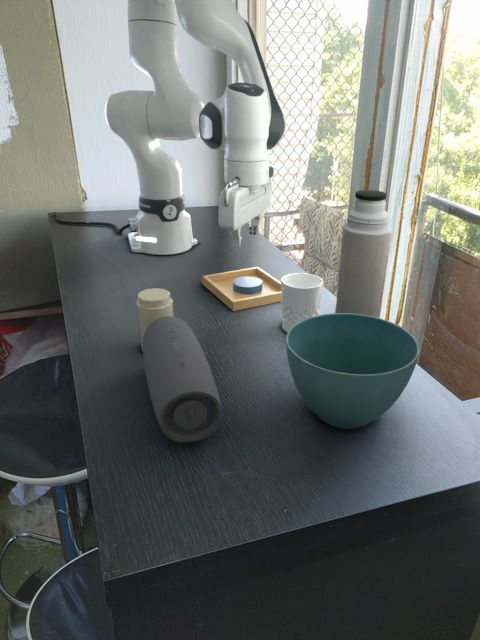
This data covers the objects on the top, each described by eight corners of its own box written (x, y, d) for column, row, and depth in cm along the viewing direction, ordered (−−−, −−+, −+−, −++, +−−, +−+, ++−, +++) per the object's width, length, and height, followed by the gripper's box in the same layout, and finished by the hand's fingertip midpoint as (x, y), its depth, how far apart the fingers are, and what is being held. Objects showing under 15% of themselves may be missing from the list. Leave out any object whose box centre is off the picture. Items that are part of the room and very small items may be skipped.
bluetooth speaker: (227, 444, 71) (226, 382, 66) (158, 456, 69) (152, 392, 64) (197, 362, 90) (195, 310, 85) (142, 369, 88) (137, 315, 83)
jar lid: (268, 287, 119) (268, 280, 118) (252, 296, 114) (252, 289, 114) (243, 281, 122) (243, 274, 122) (227, 290, 117) (227, 283, 117)
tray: (202, 284, 122) (202, 275, 121) (257, 274, 128) (258, 266, 127) (233, 311, 109) (233, 302, 108) (293, 299, 115) (293, 290, 114)
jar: (135, 344, 96) (130, 291, 91) (166, 336, 99) (162, 284, 94) (149, 358, 91) (144, 304, 86) (181, 349, 94) (178, 296, 89)
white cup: (323, 322, 105) (327, 276, 100) (313, 340, 98) (317, 290, 94) (285, 316, 107) (287, 270, 102) (274, 333, 101) (275, 284, 96)
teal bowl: (319, 465, 68) (327, 386, 62) (263, 393, 82) (265, 323, 76) (431, 433, 74) (448, 358, 68) (361, 371, 89) (369, 305, 83)
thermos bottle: (375, 339, 99) (396, 188, 86) (375, 359, 92) (397, 199, 79) (333, 334, 101) (347, 185, 87) (330, 354, 94) (344, 195, 80)
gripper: (239, 184, 96) (240, 256, 103) (277, 166, 113) (275, 229, 120) (209, 181, 98) (211, 252, 105) (250, 164, 115) (250, 226, 122)
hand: (245, 239), depth 113 cm, fingers open, 8 cm apart
